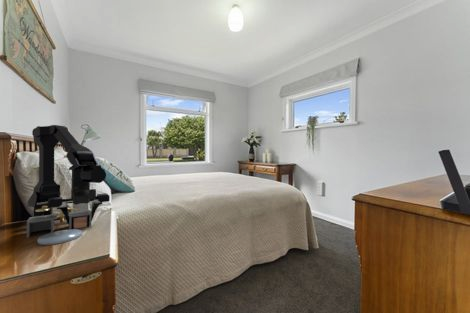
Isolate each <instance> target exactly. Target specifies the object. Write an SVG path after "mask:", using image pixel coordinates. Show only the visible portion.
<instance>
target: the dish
mask: <svg viewBox="0 0 470 313" xmlns="http://www.w3.org/2000/svg"><path fill="white" fill-rule="evenodd" d="M82 232H83V231H82V230H81V229H79V228H75V229H74V228H73V229H72V228H71V229H69V228H68V229H62V230H57V231H53V232H52V233H51V232H48V233H46V234H42V235H40V236H39V237H38V238H37V244H38V245H40V246H41V245H42V246H49V245H50V246H52V245H58V244H59V245H60V244H64V243H67V242H71V241H74V240H78V238H80V237H81V236H83V234H82Z"/></svg>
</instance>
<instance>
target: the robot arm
mask: <svg viewBox="0 0 470 313" xmlns="http://www.w3.org/2000/svg"><path fill="white" fill-rule="evenodd" d="M31 134H32V137H33V142H34V143H35V144H36V146H37V147H38V152H39V153H38V182H37V184H36V185H35V186H34V187H33V189H32V190H33V193H32V194H31V195H30V196H29V199H28V200H27V206H28V207H30V208H33V212H32V214H33V216H32V217H36V216H44V215H52V214H54V213H53V212H54V209H55V208H54V207H57V209H56V210H60V209H61V211H62V212H63V214H64V219H66V221H67V223H68V224H67V225H69V210H68V208H69V207H68V204H72V205H73V204H75V205H76V204H81V203H85V204H86V203H90V202H91V209H90V211H91V213H92V216H91V222H92V221H93V218H94V215H95V213H96V211H97V209H98V207H100V205H103V203H106V202H110V194H108V193H106V192H105V193H97V189H95V188H92V189H91V183H92V184H94V183H95V184H100V183H102V182H103V181H105V180H106V177H107V173H106V170H105V169H104V168H103V167H102V164H99V162H98V160H97V158H96V157H95V155H94V153H93V151H92V150H91V149H89V148H88V147H86V146H84V145H81V144H80V143H79V141H78V140H77V139H76V138H75V137H74V135H72V134H71V132H70V131H69V129H68V127H67V126H65V125H59V124H51V125H44V126H41V125H37V126H36V127H35V128H33V129H32V132H31ZM59 143H60V145H61V146H62V148H64V149H65V152H66V156H65V157H66V159H67V160H68V162H69V163H70V164H71V166H70V167H69V168H68V170H69V171H71V195H70V198H63V196H61V194H62V193H61V185H60V184H58V183H57V182H56V181H55V147H56V146H57V145H58V144H59ZM42 206H48V207H47V208H50V210H48V211H43V212H35V210H37V209H42ZM43 208H44V207H43ZM56 217H57V215H54V219H55V218H56Z"/></svg>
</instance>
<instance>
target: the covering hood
mask: <svg viewBox="0 0 470 313" xmlns="http://www.w3.org/2000/svg"><path fill="white" fill-rule="evenodd" d="M68 214H69V224H68V230H69V229H72V227H73V220H74V217H78V216H85V215H87V225H88V226H89V228H92V221H91V216H92V213H91V209H90V210H85V211H77V212H73V211H70V212H69V211H68Z"/></svg>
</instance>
